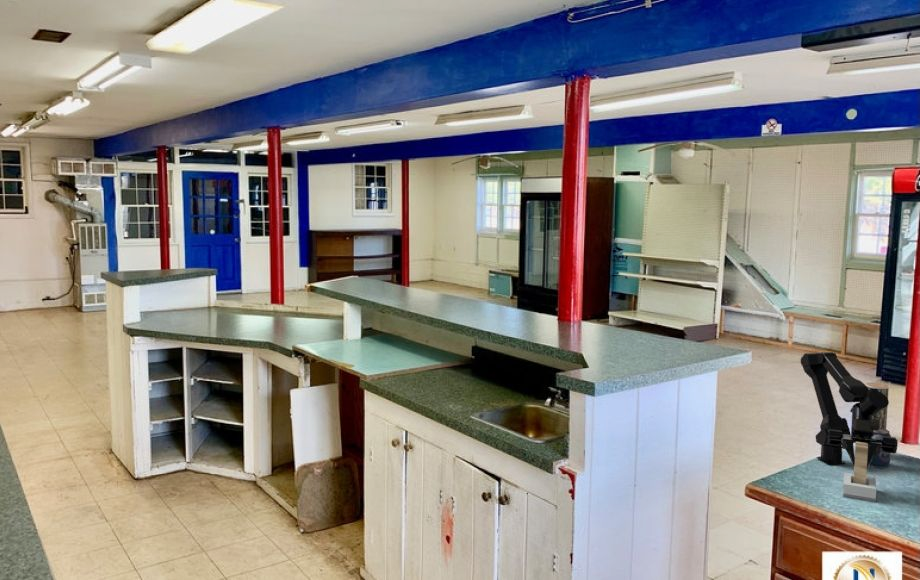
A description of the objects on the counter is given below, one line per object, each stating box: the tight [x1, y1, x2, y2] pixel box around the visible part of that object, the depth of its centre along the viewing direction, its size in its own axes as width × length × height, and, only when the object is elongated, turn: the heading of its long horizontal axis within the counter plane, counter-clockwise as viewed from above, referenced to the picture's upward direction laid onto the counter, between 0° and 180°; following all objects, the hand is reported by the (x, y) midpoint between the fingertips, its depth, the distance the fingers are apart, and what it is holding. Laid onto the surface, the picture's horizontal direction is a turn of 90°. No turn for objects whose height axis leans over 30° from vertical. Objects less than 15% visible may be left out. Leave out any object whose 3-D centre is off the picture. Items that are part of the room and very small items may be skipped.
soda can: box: [867, 428, 892, 469], centre depth 235 cm, size 7×7×12 cm
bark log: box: [865, 381, 889, 430], centre depth 244 cm, size 7×7×25 cm
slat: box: [853, 442, 868, 485], centre depth 213 cm, size 4×3×13 cm
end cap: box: [842, 472, 877, 503], centre depth 213 cm, size 10×8×4 cm
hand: (860, 466), depth 211 cm, fingers closed on slat, 3 cm apart
